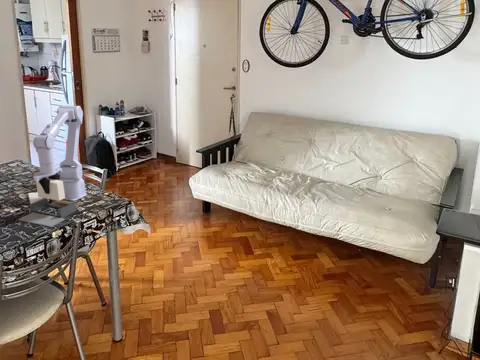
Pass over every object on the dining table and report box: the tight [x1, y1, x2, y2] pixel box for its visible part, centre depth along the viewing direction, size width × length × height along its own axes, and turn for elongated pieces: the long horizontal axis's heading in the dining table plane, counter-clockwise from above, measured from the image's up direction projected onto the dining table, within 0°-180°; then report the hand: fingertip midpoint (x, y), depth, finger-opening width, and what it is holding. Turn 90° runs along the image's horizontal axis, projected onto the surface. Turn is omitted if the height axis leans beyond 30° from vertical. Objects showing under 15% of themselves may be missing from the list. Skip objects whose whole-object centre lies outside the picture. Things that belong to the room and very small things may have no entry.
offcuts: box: [50, 199, 79, 209], centre depth 206 cm, size 3×13×2 cm, turn 68°
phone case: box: [27, 191, 51, 205], centre depth 215 cm, size 9×2×16 cm
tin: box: [31, 168, 62, 184], centre depth 232 cm, size 15×3×8 cm, turn 84°
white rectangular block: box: [35, 178, 65, 201], centre depth 197 cm, size 4×12×8 cm, turn 68°
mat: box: [17, 212, 66, 228], centre depth 192 cm, size 8×18×1 cm, turn 68°
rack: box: [29, 198, 77, 219], centre depth 200 cm, size 9×17×4 cm, turn 68°
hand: (50, 192), depth 198 cm, fingers closed on white rectangular block, 3 cm apart
